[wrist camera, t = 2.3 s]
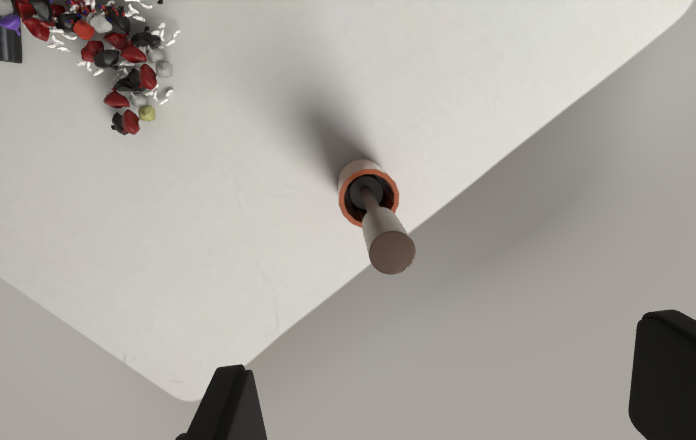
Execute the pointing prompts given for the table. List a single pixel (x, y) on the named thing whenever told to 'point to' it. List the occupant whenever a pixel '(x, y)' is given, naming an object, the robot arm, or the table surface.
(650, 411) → the robot arm
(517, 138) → the table surface
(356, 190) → the brush
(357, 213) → the holder
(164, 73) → the toy collection
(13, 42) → the black stepped block
